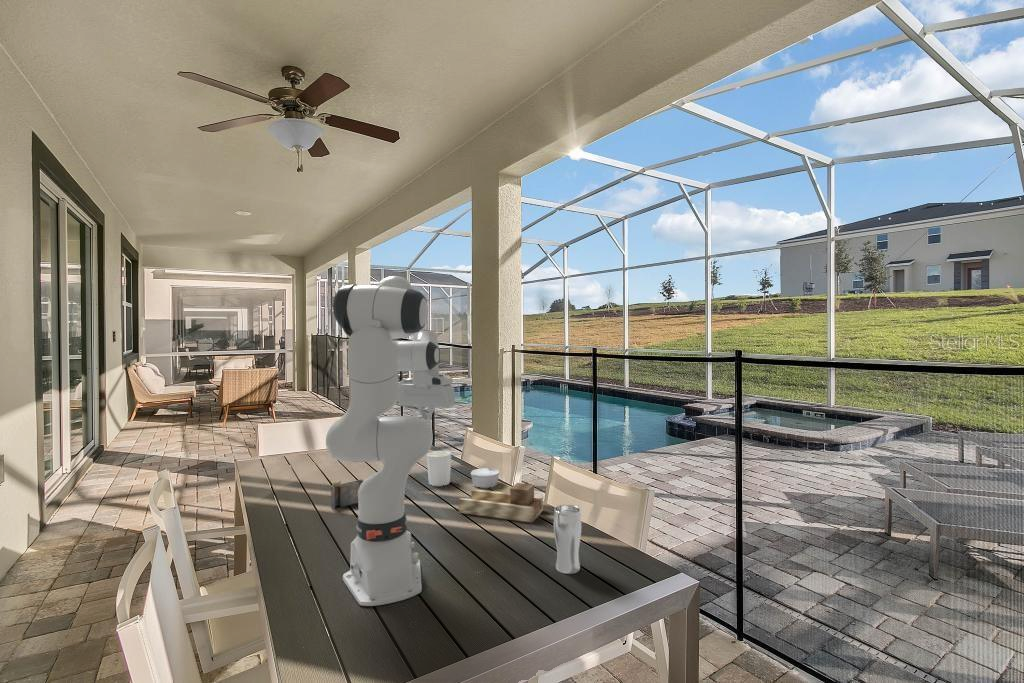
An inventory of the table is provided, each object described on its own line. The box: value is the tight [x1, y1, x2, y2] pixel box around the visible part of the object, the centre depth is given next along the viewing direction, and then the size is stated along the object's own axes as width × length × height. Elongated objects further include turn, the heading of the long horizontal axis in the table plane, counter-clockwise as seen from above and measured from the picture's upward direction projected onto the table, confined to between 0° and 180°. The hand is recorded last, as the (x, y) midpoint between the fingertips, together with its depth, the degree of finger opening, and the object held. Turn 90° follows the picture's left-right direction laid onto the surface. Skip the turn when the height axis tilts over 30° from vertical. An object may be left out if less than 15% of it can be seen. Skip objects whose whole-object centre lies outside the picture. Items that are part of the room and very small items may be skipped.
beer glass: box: [553, 504, 582, 575], centre depth 120 cm, size 7×7×15 cm
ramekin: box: [470, 467, 500, 489], centre depth 189 cm, size 11×11×5 cm
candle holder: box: [426, 450, 452, 487], centre depth 192 cm, size 10×10×12 cm
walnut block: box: [509, 482, 535, 506], centre depth 157 cm, size 6×6×8 cm
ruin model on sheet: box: [330, 479, 365, 509], centre depth 169 cm, size 11×3×10 cm, turn 133°
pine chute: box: [458, 488, 544, 523], centre depth 160 cm, size 26×11×4 cm, turn 69°
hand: (426, 420), depth 159 cm, fingers closed
